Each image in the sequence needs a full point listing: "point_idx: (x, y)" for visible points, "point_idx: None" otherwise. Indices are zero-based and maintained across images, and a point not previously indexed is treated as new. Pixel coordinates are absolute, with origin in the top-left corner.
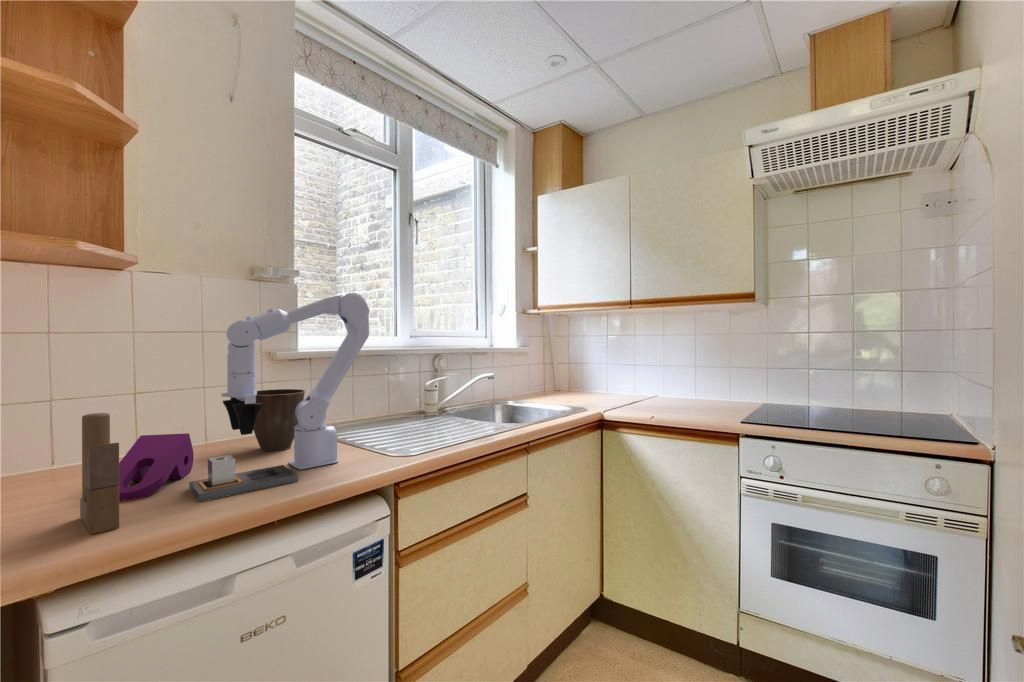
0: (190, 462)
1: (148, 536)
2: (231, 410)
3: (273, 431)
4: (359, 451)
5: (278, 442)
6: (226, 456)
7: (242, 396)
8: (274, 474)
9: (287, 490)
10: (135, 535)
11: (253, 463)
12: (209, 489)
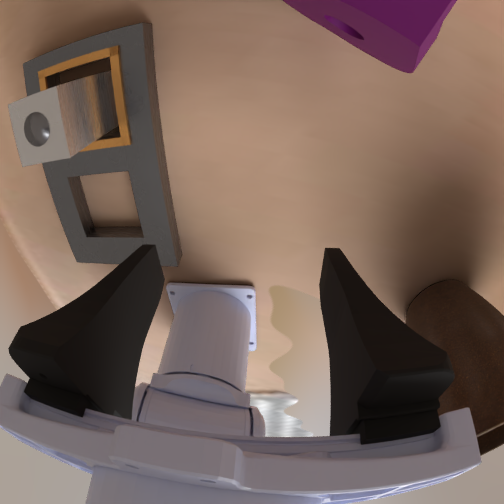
0: (374, 52)
1: None
2: (351, 336)
3: None
4: (253, 383)
5: (410, 321)
6: (56, 144)
7: (14, 421)
8: (137, 230)
9: (38, 220)
10: None
11: (337, 226)
12: (41, 81)
